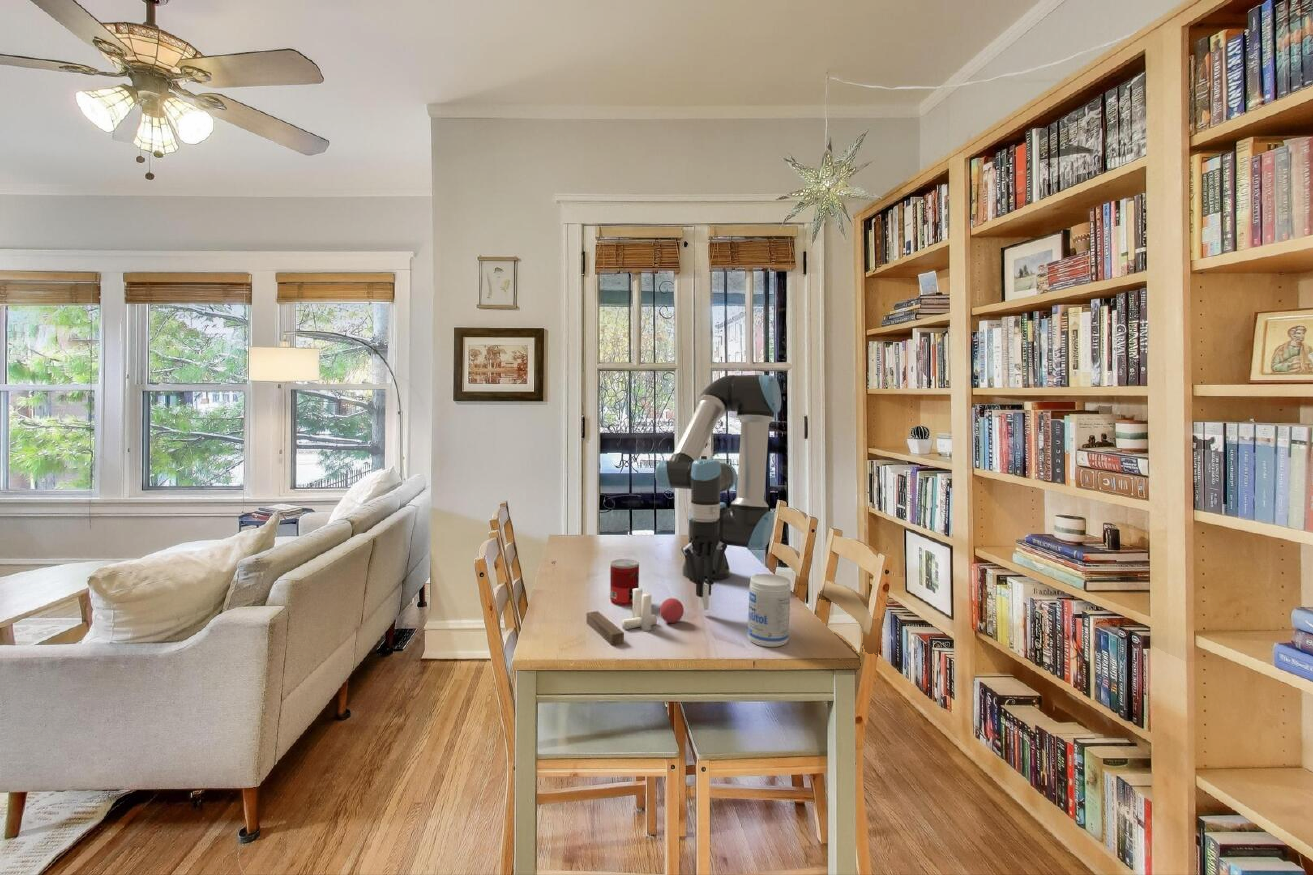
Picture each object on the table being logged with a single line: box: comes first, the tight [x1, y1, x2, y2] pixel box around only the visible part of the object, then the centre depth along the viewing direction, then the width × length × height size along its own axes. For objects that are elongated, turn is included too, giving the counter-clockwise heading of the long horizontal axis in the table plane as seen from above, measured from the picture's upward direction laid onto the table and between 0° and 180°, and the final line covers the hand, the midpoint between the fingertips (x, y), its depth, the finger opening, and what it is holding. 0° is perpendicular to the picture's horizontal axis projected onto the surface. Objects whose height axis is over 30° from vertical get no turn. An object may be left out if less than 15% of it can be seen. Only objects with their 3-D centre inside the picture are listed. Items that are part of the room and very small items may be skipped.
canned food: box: [609, 558, 640, 606], centre depth 173 cm, size 8×8×11 cm
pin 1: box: [632, 587, 643, 618], centre depth 157 cm, size 2×2×8 cm
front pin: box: [621, 614, 657, 630], centre depth 154 cm, size 2×2×8 cm
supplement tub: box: [747, 573, 792, 648], centre depth 146 cm, size 10×10×15 cm
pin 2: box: [640, 593, 652, 632], centre depth 152 cm, size 2×2×8 cm
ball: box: [659, 598, 685, 624], centre depth 158 cm, size 6×6×6 cm
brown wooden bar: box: [586, 610, 625, 646], centre depth 150 cm, size 3×16×2 cm, turn 27°
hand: (703, 608), depth 163 cm, fingers closed
